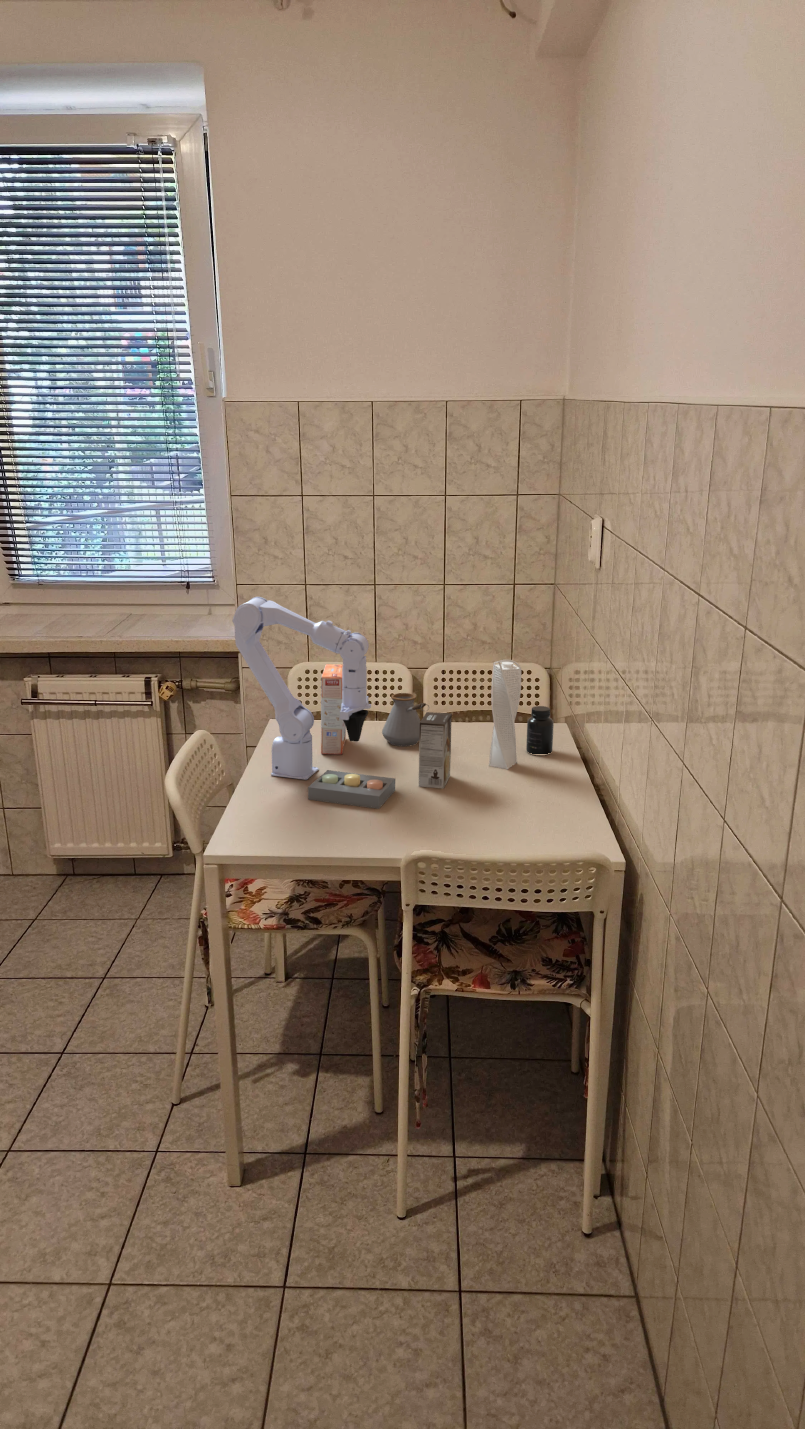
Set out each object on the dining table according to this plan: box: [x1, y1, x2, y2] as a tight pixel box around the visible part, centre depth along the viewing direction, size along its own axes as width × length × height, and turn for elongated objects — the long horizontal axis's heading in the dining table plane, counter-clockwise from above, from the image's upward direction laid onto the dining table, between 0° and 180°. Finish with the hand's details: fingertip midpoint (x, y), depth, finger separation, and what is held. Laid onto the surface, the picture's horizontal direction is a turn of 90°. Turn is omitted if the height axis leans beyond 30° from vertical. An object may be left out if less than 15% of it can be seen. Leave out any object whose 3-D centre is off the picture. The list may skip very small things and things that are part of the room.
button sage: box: [322, 774, 338, 784], centre depth 232 cm, size 4×4×3 cm
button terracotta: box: [367, 780, 383, 790], centre depth 229 cm, size 4×4×3 cm
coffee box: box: [418, 711, 453, 789], centre depth 238 cm, size 9×6×16 cm
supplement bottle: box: [525, 705, 555, 754], centre depth 260 cm, size 7×7×12 cm
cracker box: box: [320, 663, 347, 756], centre depth 261 cm, size 14×6×21 cm, turn 179°
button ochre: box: [344, 773, 360, 787], centre depth 230 cm, size 4×4×3 cm
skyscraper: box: [488, 658, 522, 770], centre depth 248 cm, size 8×8×28 cm
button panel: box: [307, 769, 396, 810], centre depth 230 cm, size 17×12×3 cm
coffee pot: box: [381, 692, 430, 747], centre depth 262 cm, size 21×12×15 cm, turn 20°
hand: (354, 740), depth 239 cm, fingers closed
